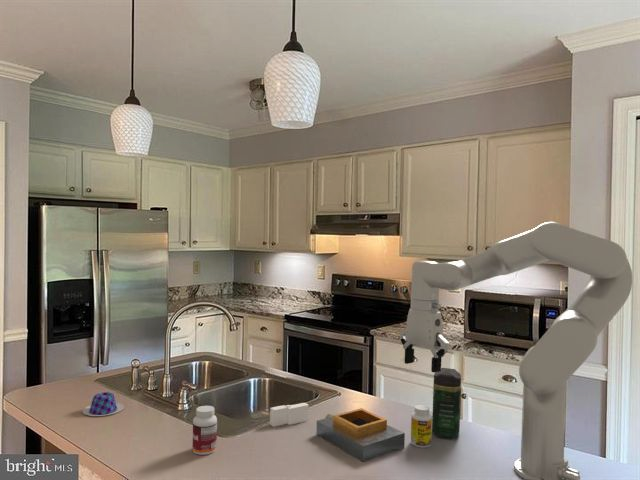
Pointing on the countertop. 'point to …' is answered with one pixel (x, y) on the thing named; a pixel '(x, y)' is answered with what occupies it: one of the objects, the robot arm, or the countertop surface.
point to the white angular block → (289, 414)
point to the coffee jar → (446, 403)
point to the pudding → (103, 405)
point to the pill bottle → (204, 431)
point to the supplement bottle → (421, 427)
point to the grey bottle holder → (360, 434)
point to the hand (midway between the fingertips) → (422, 367)
